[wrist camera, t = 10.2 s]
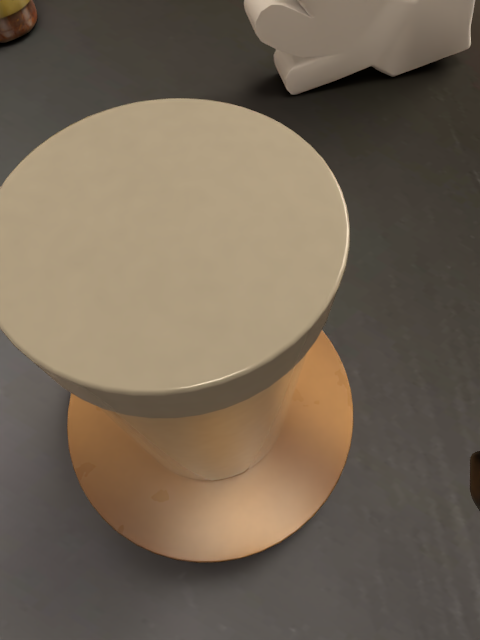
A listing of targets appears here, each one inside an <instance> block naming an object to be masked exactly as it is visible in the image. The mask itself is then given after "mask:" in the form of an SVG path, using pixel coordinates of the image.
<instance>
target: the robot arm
mask: <svg viewBox="0 0 480 640" xmlns="http://www.w3.org/2000/svg"><path fill="white" fill-rule="evenodd" d="M470 492H471V496H472V499H473V501H474V503H475V504H476V506H477V508H478V509H479V511H480V451H478V452H475V453H473V454H472V456H471V459H470Z"/></svg>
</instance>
